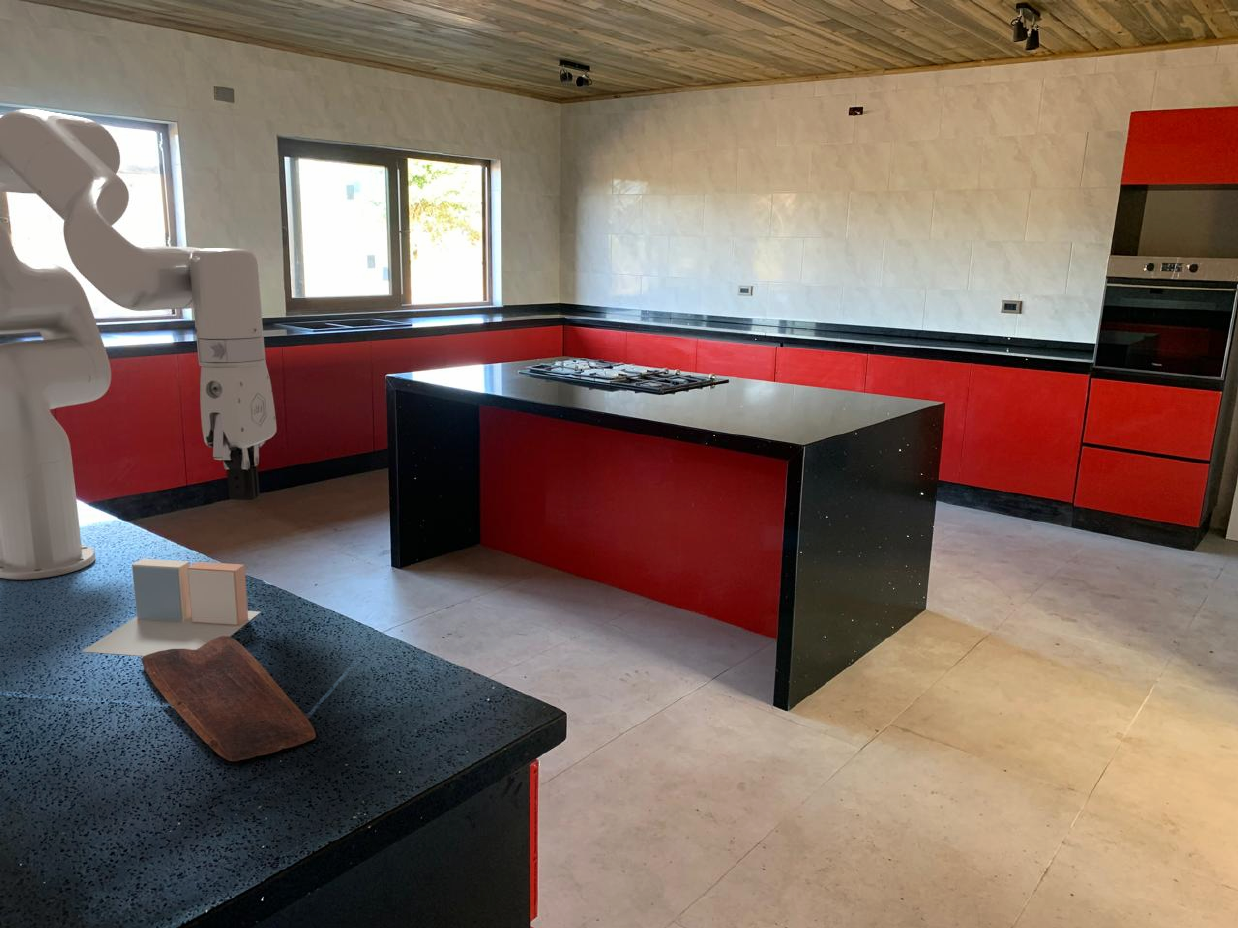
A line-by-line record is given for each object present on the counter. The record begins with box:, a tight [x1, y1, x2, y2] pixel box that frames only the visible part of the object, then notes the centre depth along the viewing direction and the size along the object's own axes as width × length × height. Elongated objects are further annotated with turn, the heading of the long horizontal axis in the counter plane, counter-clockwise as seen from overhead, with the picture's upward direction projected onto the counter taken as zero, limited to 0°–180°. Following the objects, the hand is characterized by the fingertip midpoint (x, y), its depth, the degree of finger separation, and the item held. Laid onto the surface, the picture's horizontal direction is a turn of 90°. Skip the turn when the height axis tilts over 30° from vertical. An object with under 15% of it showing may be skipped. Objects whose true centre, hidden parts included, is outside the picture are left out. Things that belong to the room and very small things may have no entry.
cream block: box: [131, 558, 191, 622], centre depth 110 cm, size 6×2×7 cm, turn 85°
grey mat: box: [81, 610, 261, 657], centre depth 107 cm, size 14×14×1 cm
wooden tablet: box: [141, 636, 317, 762], centre depth 92 cm, size 26×2×10 cm
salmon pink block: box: [187, 561, 249, 625], centre depth 110 cm, size 6×2×7 cm, turn 85°
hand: (244, 497), depth 114 cm, fingers closed
